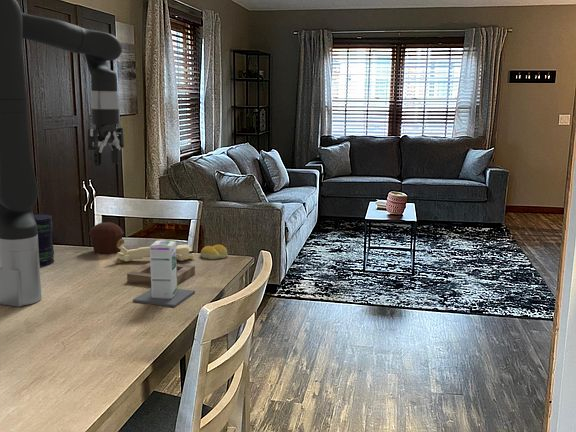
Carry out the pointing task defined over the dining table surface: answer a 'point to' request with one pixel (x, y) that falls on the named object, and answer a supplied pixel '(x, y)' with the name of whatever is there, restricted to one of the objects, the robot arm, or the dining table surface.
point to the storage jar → (44, 239)
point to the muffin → (106, 238)
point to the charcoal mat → (173, 302)
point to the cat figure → (181, 252)
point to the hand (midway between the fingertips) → (107, 164)
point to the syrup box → (163, 269)
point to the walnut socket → (144, 274)
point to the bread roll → (214, 252)
